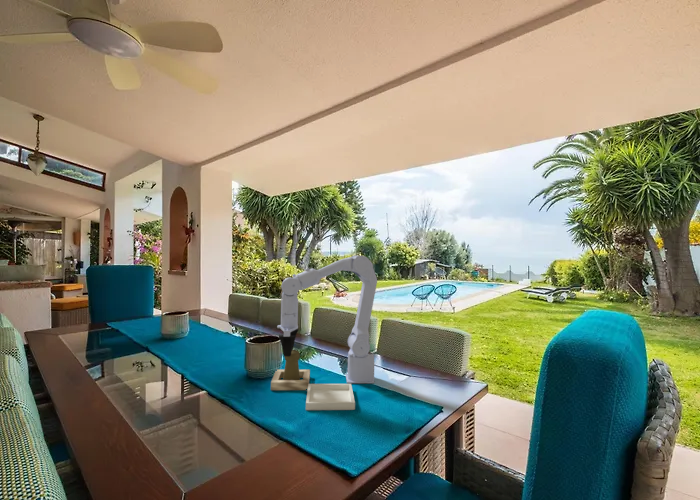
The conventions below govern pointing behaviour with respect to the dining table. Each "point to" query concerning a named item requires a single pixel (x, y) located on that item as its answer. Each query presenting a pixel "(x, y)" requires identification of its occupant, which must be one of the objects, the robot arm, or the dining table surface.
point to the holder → (290, 381)
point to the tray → (330, 397)
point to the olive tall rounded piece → (292, 366)
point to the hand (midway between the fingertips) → (288, 352)
